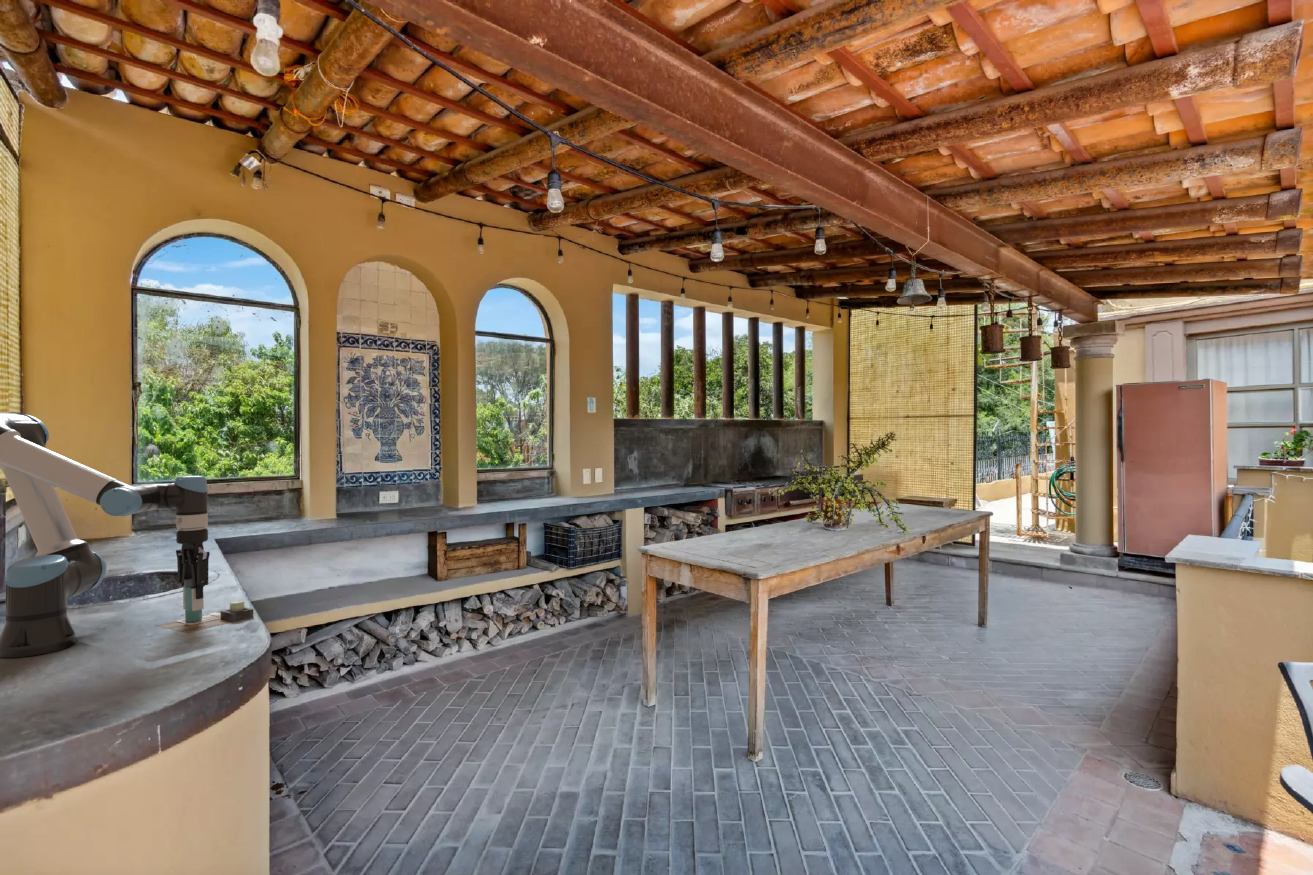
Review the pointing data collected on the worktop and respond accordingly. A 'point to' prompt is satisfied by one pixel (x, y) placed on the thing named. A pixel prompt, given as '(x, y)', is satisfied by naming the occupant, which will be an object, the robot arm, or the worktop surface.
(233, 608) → the button
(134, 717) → the worktop surface
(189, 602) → the marker
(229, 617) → the clipboard
